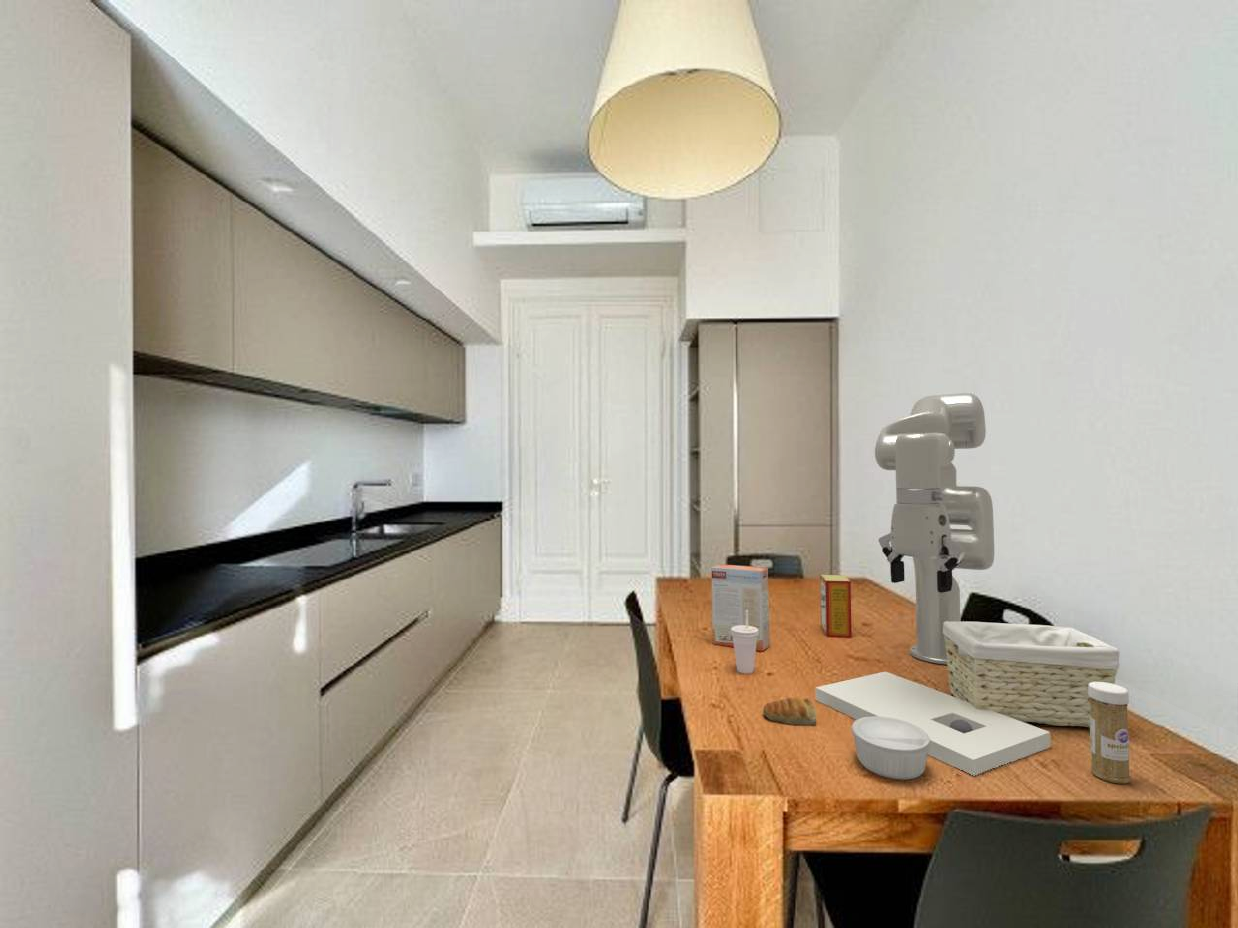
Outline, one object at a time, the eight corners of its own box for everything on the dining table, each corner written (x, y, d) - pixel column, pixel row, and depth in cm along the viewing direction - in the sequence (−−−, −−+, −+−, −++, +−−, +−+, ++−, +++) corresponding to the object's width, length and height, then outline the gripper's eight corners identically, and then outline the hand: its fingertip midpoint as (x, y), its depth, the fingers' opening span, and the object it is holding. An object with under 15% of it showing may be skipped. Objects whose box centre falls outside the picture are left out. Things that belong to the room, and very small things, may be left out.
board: (815, 699, 113) (815, 687, 114) (885, 682, 122) (885, 671, 122) (973, 776, 85) (973, 759, 85) (1050, 747, 93) (1050, 732, 93)
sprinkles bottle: (1120, 787, 81) (1117, 693, 81) (1083, 772, 85) (1081, 683, 85) (1137, 780, 83) (1135, 688, 83) (1100, 765, 87) (1098, 678, 87)
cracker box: (770, 646, 149) (769, 566, 149) (763, 652, 144) (761, 570, 144) (720, 638, 156) (719, 563, 157) (711, 644, 151) (710, 566, 151)
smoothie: (760, 676, 127) (759, 613, 127) (731, 674, 128) (730, 612, 128) (758, 666, 133) (757, 607, 133) (731, 665, 134) (730, 606, 135)
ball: (963, 712, 97) (982, 730, 94) (954, 723, 99) (971, 741, 96) (950, 719, 95) (969, 738, 93) (941, 730, 97) (959, 749, 95)
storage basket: (1072, 698, 112) (1070, 623, 113) (1127, 735, 96) (1125, 648, 97) (940, 690, 117) (939, 619, 117) (973, 724, 101) (971, 642, 101)
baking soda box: (821, 627, 166) (820, 573, 166) (844, 628, 164) (843, 573, 165) (826, 637, 156) (825, 579, 157) (851, 638, 155) (850, 579, 155)
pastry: (766, 725, 103) (765, 704, 103) (760, 710, 109) (760, 690, 110) (819, 727, 102) (818, 706, 102) (810, 712, 108) (810, 692, 109)
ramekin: (894, 791, 81) (894, 754, 81) (836, 756, 91) (835, 723, 91) (948, 774, 85) (947, 739, 86) (886, 742, 96) (885, 711, 96)
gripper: (975, 499, 102) (977, 592, 102) (891, 494, 118) (893, 576, 118) (949, 501, 99) (951, 598, 99) (866, 496, 114) (868, 580, 114)
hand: (920, 586), depth 108 cm, fingers open, 9 cm apart
